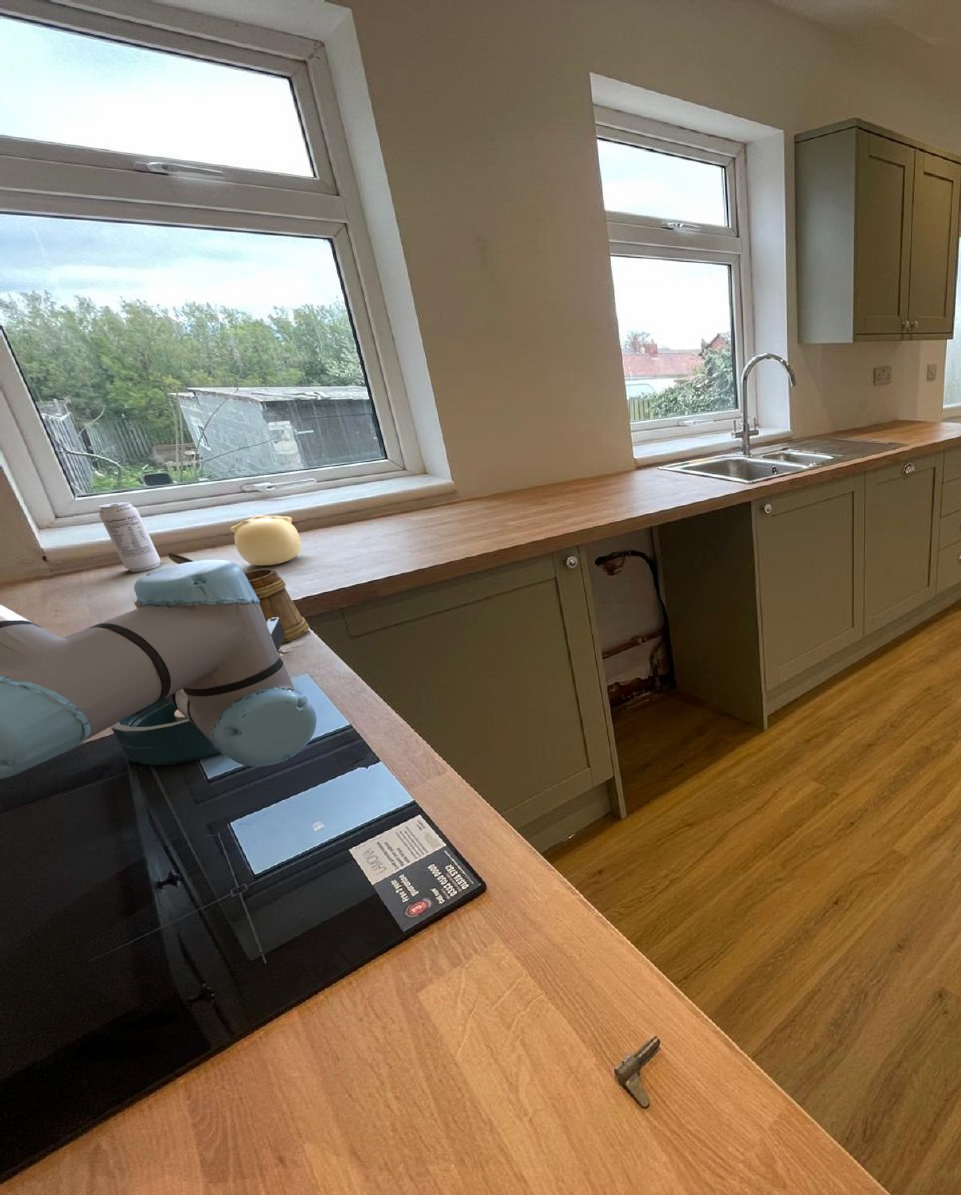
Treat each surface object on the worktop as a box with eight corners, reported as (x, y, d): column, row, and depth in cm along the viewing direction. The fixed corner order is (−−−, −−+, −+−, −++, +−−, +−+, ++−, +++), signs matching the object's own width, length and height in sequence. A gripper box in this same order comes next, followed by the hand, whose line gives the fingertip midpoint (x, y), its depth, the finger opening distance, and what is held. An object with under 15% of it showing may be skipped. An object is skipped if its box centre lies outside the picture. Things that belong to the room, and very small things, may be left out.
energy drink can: (164, 561, 151) (136, 499, 145) (159, 568, 147) (129, 504, 141) (130, 567, 148) (99, 504, 142) (124, 574, 144) (92, 509, 138)
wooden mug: (201, 655, 104) (151, 550, 97) (290, 621, 115) (252, 524, 108) (231, 665, 100) (182, 556, 93) (321, 628, 112) (283, 529, 104)
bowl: (115, 787, 74) (92, 747, 71) (143, 725, 85) (124, 689, 83) (283, 736, 82) (267, 699, 79) (286, 686, 93) (272, 652, 91)
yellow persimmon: (304, 549, 155) (288, 506, 151) (308, 561, 146) (291, 515, 142) (244, 561, 148) (225, 516, 144) (245, 575, 140) (225, 527, 135)
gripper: (337, 614, 77) (270, 582, 88) (34, 716, 58) (-1, 658, 70) (357, 669, 80) (289, 631, 91) (75, 782, 61) (35, 716, 73)
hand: (164, 643), depth 81 cm, fingers open, 13 cm apart
